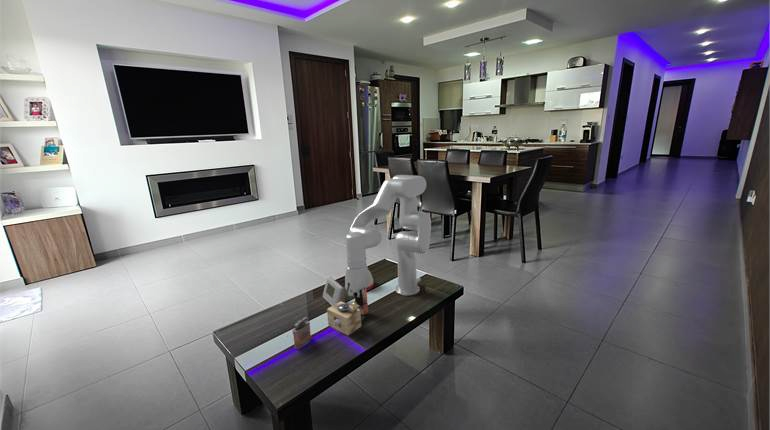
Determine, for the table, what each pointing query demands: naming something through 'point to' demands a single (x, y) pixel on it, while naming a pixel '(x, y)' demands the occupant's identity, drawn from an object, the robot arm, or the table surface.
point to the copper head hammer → (362, 308)
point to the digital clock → (333, 292)
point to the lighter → (301, 333)
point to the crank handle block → (346, 308)
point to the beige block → (344, 319)
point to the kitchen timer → (370, 281)
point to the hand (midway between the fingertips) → (359, 304)
